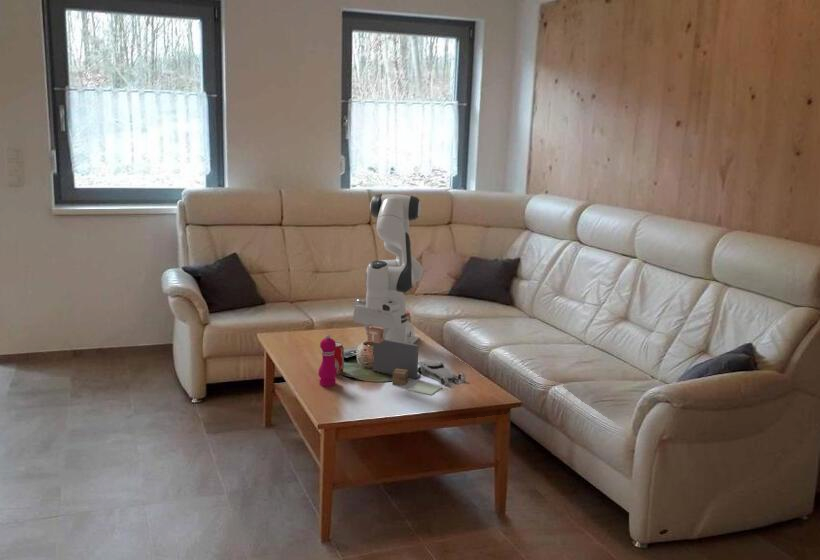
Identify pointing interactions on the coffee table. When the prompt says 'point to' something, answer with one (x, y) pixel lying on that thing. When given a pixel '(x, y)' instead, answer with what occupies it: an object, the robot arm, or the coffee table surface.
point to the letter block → (375, 334)
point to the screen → (396, 357)
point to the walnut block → (400, 377)
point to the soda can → (338, 357)
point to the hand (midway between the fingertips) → (376, 336)
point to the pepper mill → (327, 362)
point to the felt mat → (425, 388)
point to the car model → (439, 373)
